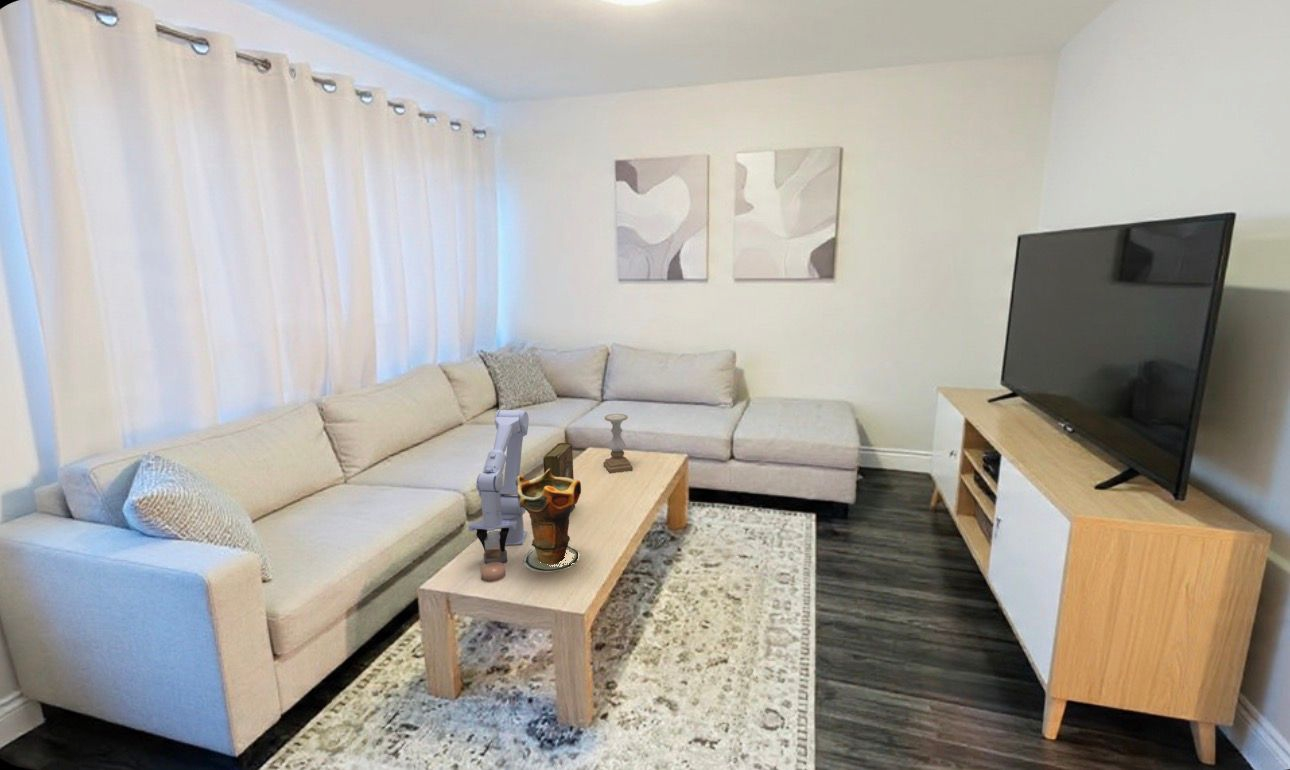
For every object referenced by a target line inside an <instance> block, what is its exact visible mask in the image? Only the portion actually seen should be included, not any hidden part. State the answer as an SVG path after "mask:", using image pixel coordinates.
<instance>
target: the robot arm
mask: <svg viewBox="0 0 1290 770" xmlns="http://www.w3.org/2000/svg"><path fill="white" fill-rule="evenodd" d="M529 419H530V418H529V415H528V412H527V411H526V410H525V409H520V410H519V409H518V410H517V409H516V410H515V409H498V410H497V411H496V412H495V415H494V424H495V428H496V434H495V435H496V436H495V440H494V444H493V449H492V450H491V451H489V452H488V454H487V457H486V460H485V464H484V466H483V470H482V472H481V473H479V474H478V475H477V477H476V484H475V486H476V490H477V491H478V496H479V498H480V499H481V511H482V512H481V514H482V521H475V522H470V523H469V524H468V527H467V528H468V532H473V531H476V533H475V534H476V535H475V536H476V537H477V538H478V540H479V541H480V543H481V545H482V548H483V550H484V551H485V543H484V540H485V538H486V536H487V534H488V532H489V531H496V530H499V531H500V538H501V550H502V552H504V550H506V546H515V545H517V546H518V545H523V544H524V542H525V539H526V536H527V530H524V528H525V527H524V518H523V517H524V516H523V515H524V514H525V513H526V512H527V511H526V509H525V508H523V507H520V506H519V502H518V494H517V487H516V483H515V482H516V478H517V476H521V475H520V474H521V463H522V462H521V461H522V450H523V449H522V448H523V441H524V440H523V439H524V437H525V436H527V435H528V431H529V421H530V420H529ZM505 453H506V454H505ZM503 470H504V474H503Z"/></svg>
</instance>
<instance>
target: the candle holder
mask: <svg viewBox="0 0 1290 770" xmlns="http://www.w3.org/2000/svg"><path fill="white" fill-rule="evenodd" d="M627 419H628V415H627V414H624V413H611V414H607V415H604V420H605V421H607V422H610V424H611V426H612V428H611V429H610V432H611V434H612V439H611V440H610V441H609V443H608V449H609V450H611V451H610V456H611V457H610V458H606V459H605V461H603V468H604V467H605V468H606V469H605V468H604V469H605V470H606V472H607V471H608V472H609V473H608V472H607V473H608V474H616V472H617V473H623V472H624V471H625V472H630V471H631V472H632V471H633V465H632V464H631V461H629V460H628V458H627V457H626V456H624V455H625V451H624V450H625V448H626V443H625V441H624V440H623V438H622V436H621V435H622V433H623V429H622V427H621V424H622V423H623V422H624V421H626V420H627Z"/></svg>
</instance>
